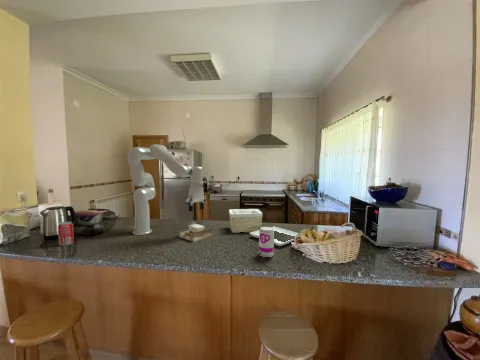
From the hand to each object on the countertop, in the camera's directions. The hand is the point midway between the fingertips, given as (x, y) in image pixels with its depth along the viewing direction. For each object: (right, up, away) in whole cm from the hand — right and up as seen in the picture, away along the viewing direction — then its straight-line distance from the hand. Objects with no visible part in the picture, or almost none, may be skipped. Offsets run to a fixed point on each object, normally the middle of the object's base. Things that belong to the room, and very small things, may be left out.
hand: (196, 210), depth 151 cm
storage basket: (+33, -18, +19) cm, 42 cm away
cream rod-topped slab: (0, -15, +1) cm, 16 cm away
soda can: (-74, -18, -17) cm, 78 cm away
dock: (-1, -18, +2) cm, 18 cm away
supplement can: (+44, -21, -28) cm, 56 cm away
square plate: (+54, -20, +1) cm, 58 cm away
